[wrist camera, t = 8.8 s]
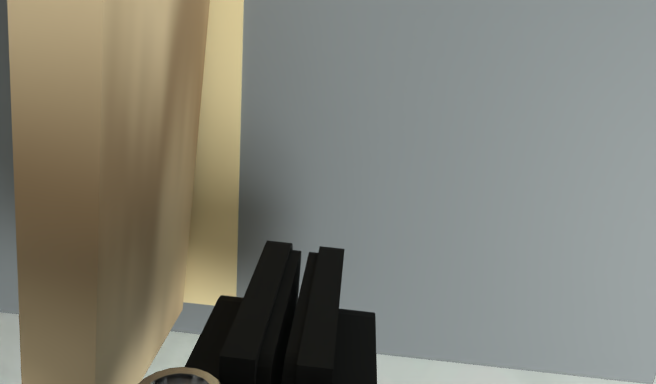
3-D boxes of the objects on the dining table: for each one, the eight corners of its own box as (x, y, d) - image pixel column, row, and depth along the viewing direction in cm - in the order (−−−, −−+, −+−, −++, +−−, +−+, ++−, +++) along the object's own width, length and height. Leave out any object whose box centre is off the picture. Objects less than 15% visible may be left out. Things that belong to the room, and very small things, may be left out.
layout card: (-158, 287, 15) (-171, 295, 15) (-332, -364, 10) (-358, -376, 10) (646, 376, 14) (654, 386, 14) (880, -283, 9) (900, -293, 9)
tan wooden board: (144, -286, 10) (-72, -550, 5) (256, -266, 10) (148, -511, 5) (120, 297, 14) (-7, 455, 9) (198, 312, 14) (110, 478, 9)
